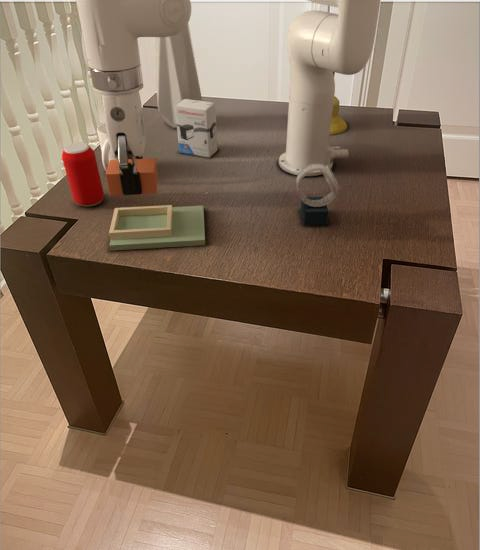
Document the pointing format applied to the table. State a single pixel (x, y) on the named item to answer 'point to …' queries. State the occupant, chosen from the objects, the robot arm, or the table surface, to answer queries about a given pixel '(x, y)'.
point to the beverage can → (83, 174)
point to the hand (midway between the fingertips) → (134, 184)
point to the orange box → (144, 167)
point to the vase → (175, 73)
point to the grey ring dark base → (316, 207)
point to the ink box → (196, 127)
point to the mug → (105, 145)
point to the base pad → (157, 227)
